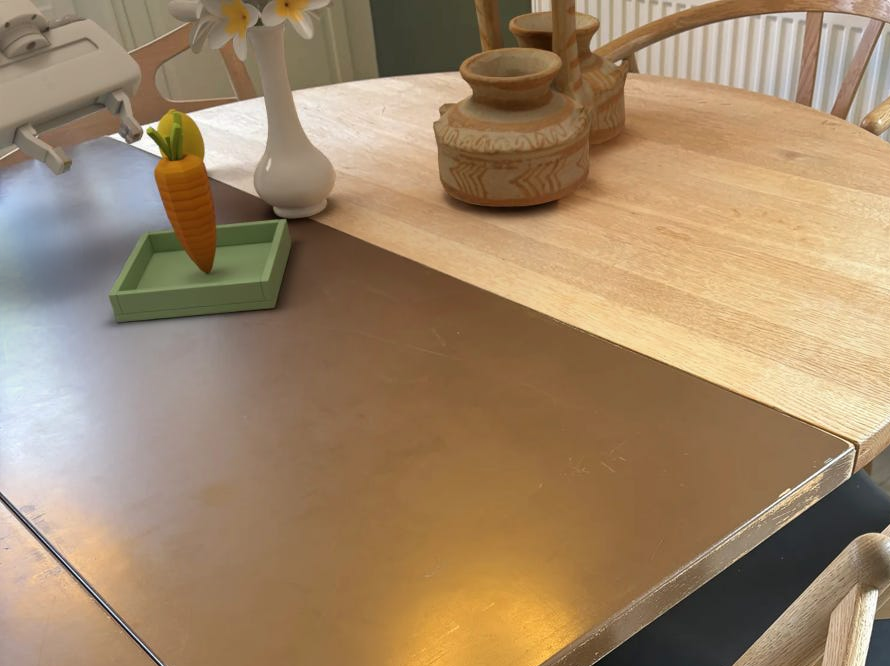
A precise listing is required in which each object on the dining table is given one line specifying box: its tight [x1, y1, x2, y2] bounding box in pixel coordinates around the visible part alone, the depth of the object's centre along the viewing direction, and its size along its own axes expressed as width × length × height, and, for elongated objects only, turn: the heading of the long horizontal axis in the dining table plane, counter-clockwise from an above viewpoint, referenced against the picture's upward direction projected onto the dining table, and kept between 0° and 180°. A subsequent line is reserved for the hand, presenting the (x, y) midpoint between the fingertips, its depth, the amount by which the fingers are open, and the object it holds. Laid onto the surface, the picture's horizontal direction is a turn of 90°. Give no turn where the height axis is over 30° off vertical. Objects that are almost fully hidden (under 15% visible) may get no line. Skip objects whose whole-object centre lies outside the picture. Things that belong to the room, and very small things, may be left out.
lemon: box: [156, 108, 206, 161], centre depth 126 cm, size 6×6×8 cm
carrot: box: [145, 111, 217, 274], centre depth 99 cm, size 5×5×15 cm
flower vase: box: [167, 0, 337, 220], centre depth 109 cm, size 13×18×25 cm
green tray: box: [108, 218, 292, 323], centre depth 104 cm, size 16×16×3 cm
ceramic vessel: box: [432, 0, 630, 207], centre depth 114 cm, size 34×18×25 cm, turn 162°
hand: (102, 153), depth 101 cm, fingers open, 8 cm apart
